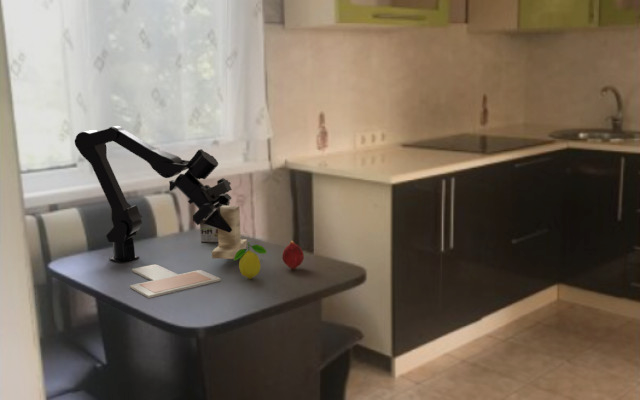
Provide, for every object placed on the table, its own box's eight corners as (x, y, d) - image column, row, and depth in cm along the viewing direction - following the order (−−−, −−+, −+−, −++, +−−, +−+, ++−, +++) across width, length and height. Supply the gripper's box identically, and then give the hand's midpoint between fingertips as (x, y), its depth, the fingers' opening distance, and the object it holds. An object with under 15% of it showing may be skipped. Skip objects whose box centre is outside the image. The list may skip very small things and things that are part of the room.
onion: (308, 268, 183) (307, 240, 182) (293, 273, 179) (292, 244, 177) (293, 265, 187) (292, 237, 186) (278, 269, 183) (277, 241, 181)
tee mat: (109, 275, 182) (108, 273, 181) (176, 261, 194) (176, 259, 194) (148, 298, 162) (148, 295, 162) (220, 280, 175) (220, 278, 174)
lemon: (267, 277, 176) (266, 240, 174) (254, 283, 171) (253, 245, 169) (247, 274, 180) (245, 238, 178) (233, 280, 175) (231, 243, 173)
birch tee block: (212, 258, 186) (209, 212, 183) (227, 245, 199) (225, 202, 197) (232, 258, 185) (230, 212, 182) (247, 246, 198) (245, 202, 196)
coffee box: (220, 241, 216) (217, 192, 213) (200, 242, 216) (197, 193, 213) (224, 235, 225) (222, 187, 222) (205, 235, 225) (202, 188, 222)
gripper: (201, 175, 179) (243, 216, 179) (223, 166, 197) (261, 203, 197) (175, 204, 182) (216, 244, 182) (199, 192, 200) (236, 229, 200)
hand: (233, 229), depth 190 cm, fingers closed on birch tee block, 5 cm apart
